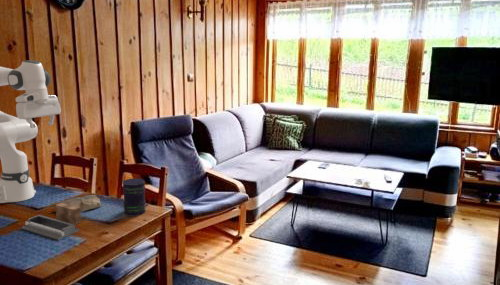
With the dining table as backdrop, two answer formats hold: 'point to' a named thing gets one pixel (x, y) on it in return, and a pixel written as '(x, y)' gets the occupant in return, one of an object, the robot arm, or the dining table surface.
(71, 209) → the wooden block
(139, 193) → the storage jar
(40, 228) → the grey rectangular tray
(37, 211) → the dining table surface
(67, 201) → the grey brown rock
